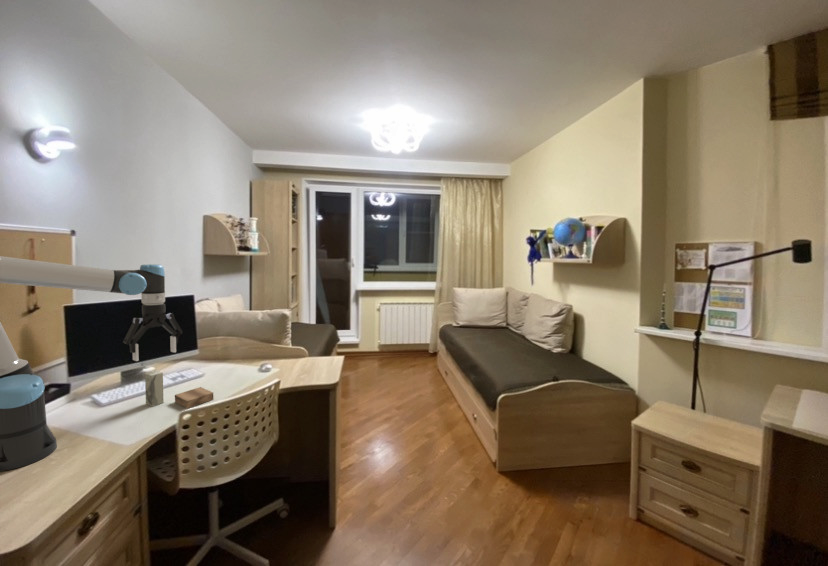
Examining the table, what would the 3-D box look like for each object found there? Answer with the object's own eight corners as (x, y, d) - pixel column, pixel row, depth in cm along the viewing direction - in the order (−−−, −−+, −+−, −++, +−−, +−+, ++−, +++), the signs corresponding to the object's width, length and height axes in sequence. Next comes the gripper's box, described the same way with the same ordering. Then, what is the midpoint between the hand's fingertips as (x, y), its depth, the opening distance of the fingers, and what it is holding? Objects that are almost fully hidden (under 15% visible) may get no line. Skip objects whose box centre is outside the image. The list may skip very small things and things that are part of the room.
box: (145, 403, 140) (143, 372, 139) (157, 399, 144) (156, 369, 143) (152, 407, 138) (150, 375, 136) (164, 402, 141) (163, 372, 140)
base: (187, 408, 137) (187, 401, 137) (175, 402, 142) (174, 394, 142) (213, 399, 146) (213, 392, 145) (200, 393, 151) (200, 386, 150)
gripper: (120, 308, 126) (123, 366, 127) (191, 300, 148) (192, 350, 150) (110, 306, 129) (112, 362, 131) (180, 299, 151) (182, 347, 153)
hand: (155, 356), depth 140 cm, fingers open, 13 cm apart
